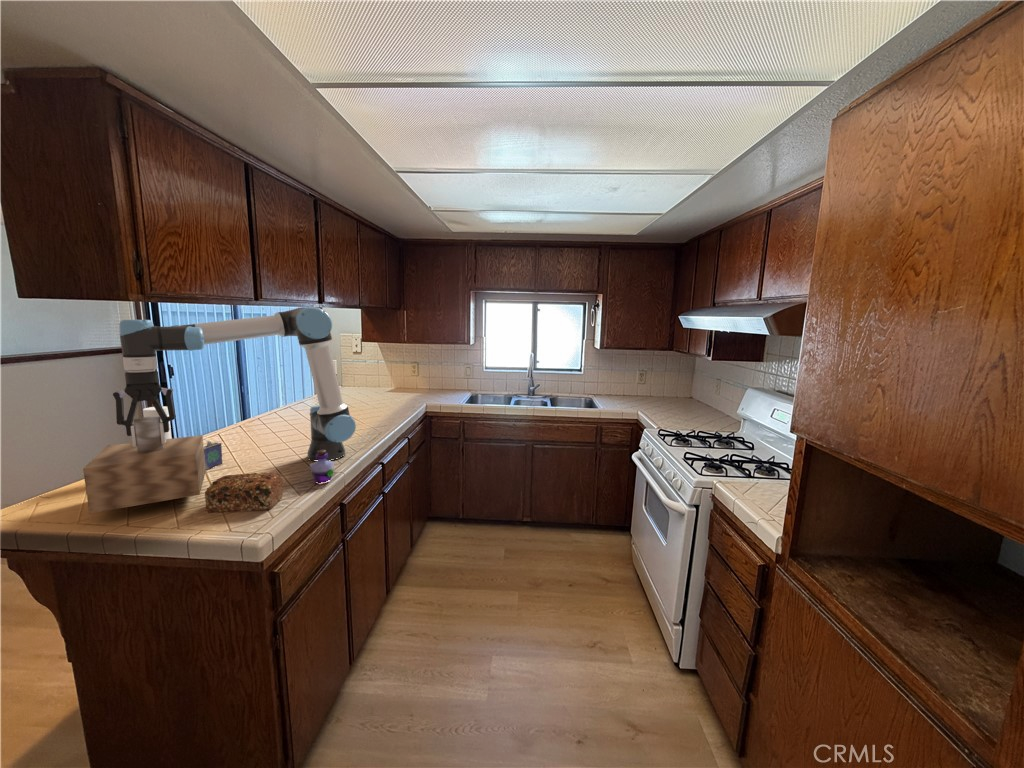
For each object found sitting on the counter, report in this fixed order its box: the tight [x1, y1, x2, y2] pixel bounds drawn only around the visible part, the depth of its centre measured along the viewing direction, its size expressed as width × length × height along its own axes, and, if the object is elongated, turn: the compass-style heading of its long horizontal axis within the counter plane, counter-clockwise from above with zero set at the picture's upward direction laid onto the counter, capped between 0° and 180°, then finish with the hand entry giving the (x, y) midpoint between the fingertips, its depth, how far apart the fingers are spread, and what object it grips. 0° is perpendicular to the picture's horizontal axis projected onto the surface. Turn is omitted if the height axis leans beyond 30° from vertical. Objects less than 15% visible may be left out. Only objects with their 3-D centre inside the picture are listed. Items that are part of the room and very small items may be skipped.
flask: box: [204, 440, 223, 471], centre depth 158 cm, size 9×3×11 cm, turn 172°
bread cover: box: [82, 416, 207, 514], centre depth 125 cm, size 24×24×23 cm
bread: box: [204, 471, 284, 514], centre depth 126 cm, size 19×11×10 cm, turn 98°
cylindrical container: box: [142, 405, 173, 439], centre depth 149 cm, size 7×7×25 cm
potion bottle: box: [309, 450, 335, 483], centre depth 146 cm, size 9×9×12 cm
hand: (150, 443), depth 125 cm, fingers closed on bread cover, 6 cm apart
